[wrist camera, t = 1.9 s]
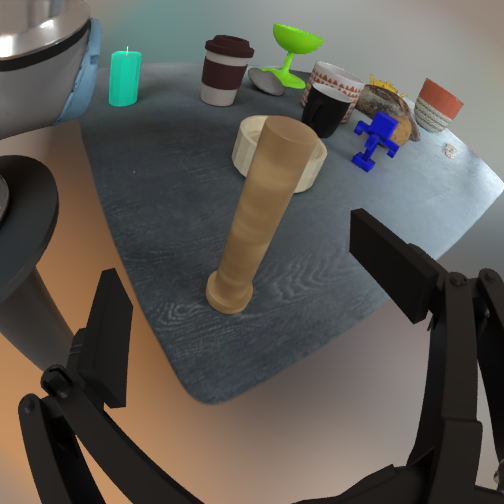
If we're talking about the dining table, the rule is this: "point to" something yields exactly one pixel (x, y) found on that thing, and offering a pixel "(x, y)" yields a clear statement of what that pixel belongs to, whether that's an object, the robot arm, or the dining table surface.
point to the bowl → (248, 143)
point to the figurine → (376, 139)
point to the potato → (400, 131)
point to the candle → (124, 78)
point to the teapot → (384, 85)
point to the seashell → (266, 81)
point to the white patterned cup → (335, 83)
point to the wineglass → (293, 51)
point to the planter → (435, 107)
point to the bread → (386, 106)
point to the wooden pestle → (260, 209)
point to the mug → (325, 109)
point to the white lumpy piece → (451, 151)
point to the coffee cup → (224, 69)
